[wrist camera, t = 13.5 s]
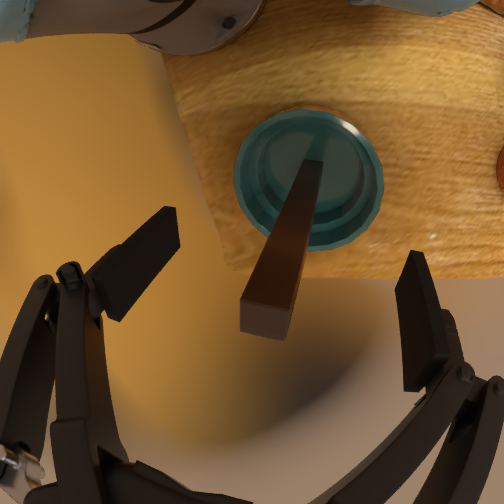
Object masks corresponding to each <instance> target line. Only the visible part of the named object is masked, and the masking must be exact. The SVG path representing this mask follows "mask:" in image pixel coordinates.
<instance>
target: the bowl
mask: <svg viewBox="0 0 504 504" xmlns="http://www.w3.org/2000/svg"><path fill="white" fill-rule="evenodd" d="M304 159H307V160H313V161H320V162H323V171H322V178H321V184H320V189H319V195H318V200H317V205H316V210H315V215H314V220H313V225H312V230H311V235H310V239H309V244H308V249H307V251H308V252H309V251H310V252H311V251H324V250H332V249H335V248H337V247H340V246H343V245H345V244H348V243H350V242H351V241H353V240H354V239H355V238H357V237H358V236H359V235H360V234H362V233H363V232H364V231H366V230H367V229H368V227H369V226H370V224H371V223H372V221H373V220H374V218H375V216H376V215H377V213H378V212H379V209H380V205H381V201H382V197H383V193H384V181H383V171H382V165H381V163H380V161H379V158H378V156H377V154H376V152H375V150H374V148H373V146H372V144H371V142H370V140H369V139H368V137H367V135H366V134H365V132H364V131H363V130H362V129H361V128H360V127H359V126H358V125H357V124H356V123H355V122H354V121H353V120H352V119H351V118H349V117H348V116H346V115H344V114H342V113H340V112H338V111H336V110H334V109H332V108H329V107H323V106H316V105H303V106H297V107H292V108H288V109H285V110H283V111H281V112H279V113H277V114H275V115H274V116H272V117H270V118H269V119H267V120H265V121H264V122H262V123H260V124H259V125H257V126H256V127H255V128H254V129H253V130H252V131H251V133H250V134H249V135H248V136H247V138H246V139H245V140H244V141H243V142H242V144H241V146H240V149H239V152H238V155H237V157H236V160H235V163H234V189H235V192H236V195H237V198H238V201H239V204H240V207H241V209H242V210H243V212H244V213H245V215H246V216H247V218H248V219H249V220H250V222H251V223H252V225H253V226H255V227H256V228H257V229H258V230H259V231H260V232H262V233H263V234H264V235H265V236H266V237H267V238H268V237H269V235H270V233H271V231H272V229H273V226H274V224H275V222H276V220H277V217H278V215H279V213H280V211H281V209H282V206H283V204H284V202H285V200H286V198H287V195H288V193H289V191H290V189H291V186H292V184H293V182H294V180H295V178H296V175H297V173H298V171H299V169H300V166H301V164H302V162H303V160H304Z"/></svg>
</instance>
